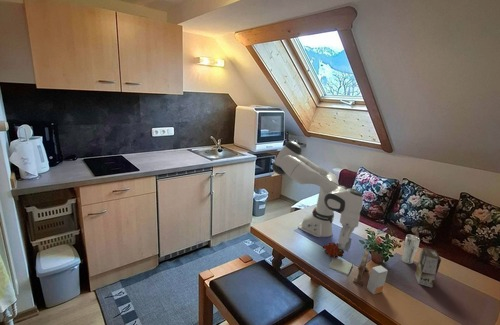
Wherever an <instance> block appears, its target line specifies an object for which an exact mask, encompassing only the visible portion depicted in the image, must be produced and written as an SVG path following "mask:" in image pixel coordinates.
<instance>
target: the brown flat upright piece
mask: <svg viewBox="0 0 500 325" xmlns="http://www.w3.org/2000/svg"><path fill="white" fill-rule="evenodd" d="M369 254H370V250H369V249H367V248H366V249H365V251H364V254H363V256H362V259H361V262H360V264H359V265H358V268H357V269H358V273H357V274H358V275H357V277H355V278H354V279H353V283H354V284H356V285H358V286H361V287H363V286H364V283H365V282H364V281H363V280H362V279H363V277H364V276H363V275H364V272H368V271H369V268H368V267H367V262H368V256H369Z"/></svg>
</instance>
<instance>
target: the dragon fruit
mask: <svg viewBox="0 0 500 325" xmlns="http://www.w3.org/2000/svg"><path fill="white" fill-rule="evenodd" d="M338 245H339V243H338V242H336V243H335V242H333V241H332V242H330V243H328V244H326V245H323V246H322V249H323V250H324V251H323V252H324V253H325V254H327V255H329V257H330V258H334V257H335V258H338V259H339V257H340V258H342V257H344V254H345V250H342V249H339V248H338Z"/></svg>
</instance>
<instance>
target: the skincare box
mask: <svg viewBox="0 0 500 325" xmlns="http://www.w3.org/2000/svg"><path fill="white" fill-rule="evenodd" d="M388 272H389V271H388V269H387V268H385V267H384V266H382V265H381V264H380V265H376V266H374V267H371V269H370V273H369V278H368V282H367V285H366V289H367V291H369V292H370V293H371V294H372V295H376V294H379V293H382V292H383V290H384V287H385V283H386V279H387V275H388Z"/></svg>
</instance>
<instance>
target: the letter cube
mask: <svg viewBox="0 0 500 325" xmlns="http://www.w3.org/2000/svg"><path fill="white" fill-rule="evenodd" d="M352 240H353V238H351V237H350V238H349V240H348V241H347V243H346V246H345V248H342V247H341V245H342V244H339V243H338V244H339V245H338V248H339V249H342V250H344V252H347V253H348V252H349V250H350V248H351V244H352Z"/></svg>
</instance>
